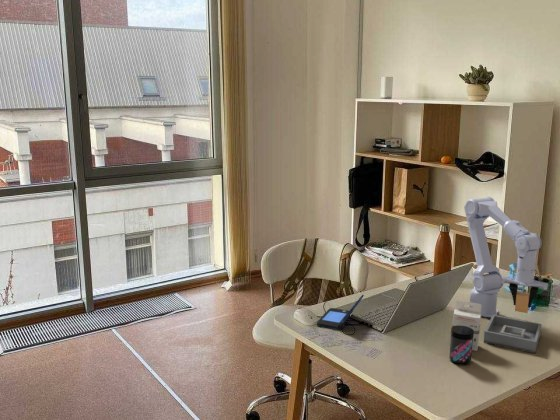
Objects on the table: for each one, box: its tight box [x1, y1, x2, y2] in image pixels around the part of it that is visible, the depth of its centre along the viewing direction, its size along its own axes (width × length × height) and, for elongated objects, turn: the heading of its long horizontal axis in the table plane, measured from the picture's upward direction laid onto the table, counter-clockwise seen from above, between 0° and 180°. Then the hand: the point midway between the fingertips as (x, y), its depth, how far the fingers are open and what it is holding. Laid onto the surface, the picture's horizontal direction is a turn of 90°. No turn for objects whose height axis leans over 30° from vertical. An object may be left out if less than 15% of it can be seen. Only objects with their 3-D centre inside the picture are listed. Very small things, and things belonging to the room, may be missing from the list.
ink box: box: [451, 299, 482, 352], centre depth 185 cm, size 9×5×15 cm, turn 65°
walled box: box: [483, 314, 542, 354], centre depth 192 cm, size 16×16×4 cm
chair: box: [504, 262, 526, 293], centre depth 234 cm, size 8×8×12 cm
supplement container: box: [449, 325, 474, 366], centre depth 176 cm, size 7×7×10 cm
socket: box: [501, 325, 525, 338], centre depth 192 cm, size 7×7×2 cm
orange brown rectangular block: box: [514, 290, 530, 314], centre depth 196 cm, size 4×4×6 cm
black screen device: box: [316, 294, 365, 331], centre depth 205 cm, size 16×13×9 cm
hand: (522, 305), depth 196 cm, fingers closed on orange brown rectangular block, 4 cm apart
